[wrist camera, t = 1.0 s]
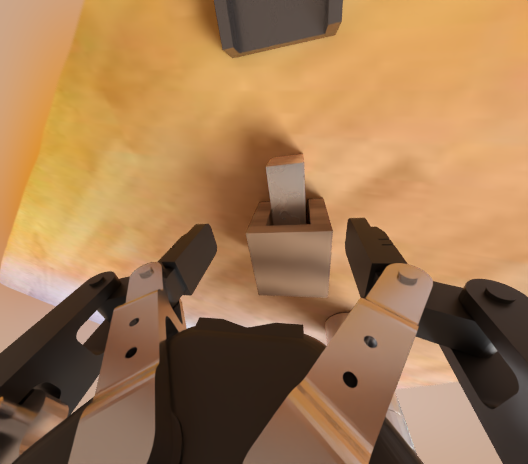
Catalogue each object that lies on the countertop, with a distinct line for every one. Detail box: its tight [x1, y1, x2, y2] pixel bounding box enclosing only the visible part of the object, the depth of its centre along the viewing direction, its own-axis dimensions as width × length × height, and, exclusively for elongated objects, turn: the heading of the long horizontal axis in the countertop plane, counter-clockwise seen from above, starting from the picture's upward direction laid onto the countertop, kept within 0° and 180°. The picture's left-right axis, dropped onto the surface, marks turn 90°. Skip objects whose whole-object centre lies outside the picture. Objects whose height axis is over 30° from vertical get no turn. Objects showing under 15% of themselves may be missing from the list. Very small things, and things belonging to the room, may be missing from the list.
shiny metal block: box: [266, 154, 306, 226], centre depth 24 cm, size 11×4×5 cm, turn 8°
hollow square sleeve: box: [246, 198, 333, 298], centre depth 25 cm, size 10×9×8 cm
